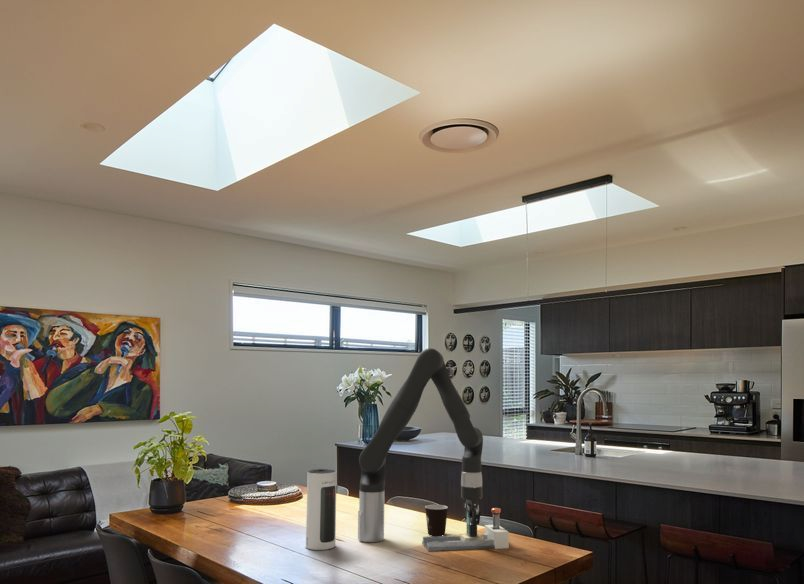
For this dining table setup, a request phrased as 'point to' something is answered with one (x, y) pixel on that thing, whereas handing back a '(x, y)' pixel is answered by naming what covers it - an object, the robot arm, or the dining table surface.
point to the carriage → (467, 536)
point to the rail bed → (456, 543)
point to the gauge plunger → (496, 518)
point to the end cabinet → (498, 536)
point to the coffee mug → (436, 519)
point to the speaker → (321, 509)
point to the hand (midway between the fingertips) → (471, 534)
